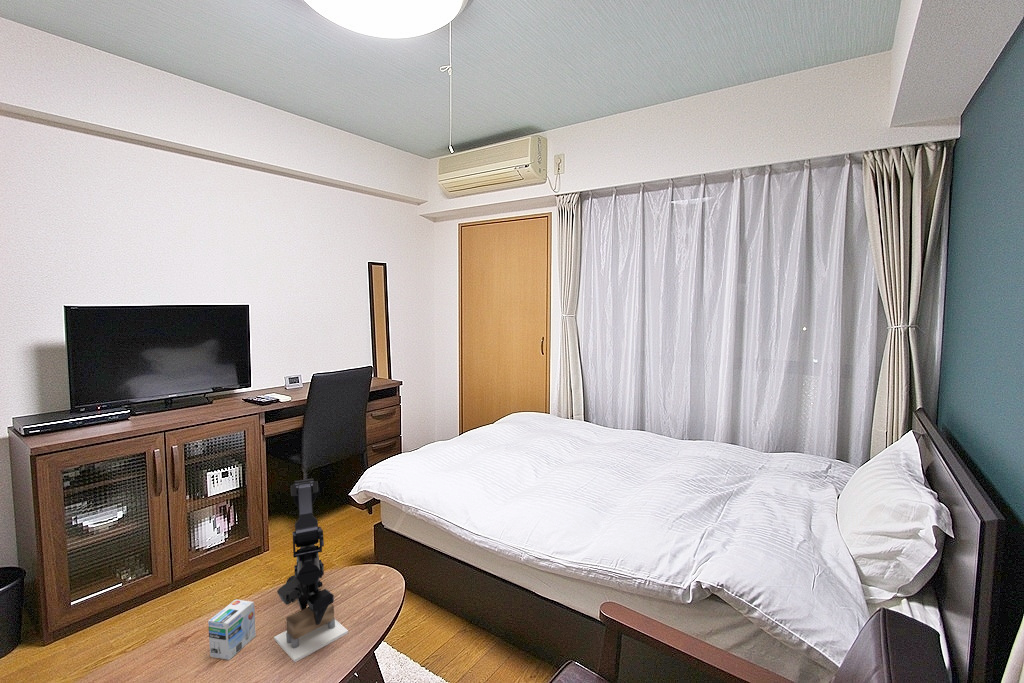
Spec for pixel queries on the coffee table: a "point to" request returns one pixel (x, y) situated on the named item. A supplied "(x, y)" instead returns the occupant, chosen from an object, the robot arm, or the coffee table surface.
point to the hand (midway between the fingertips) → (310, 617)
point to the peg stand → (310, 640)
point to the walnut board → (306, 621)
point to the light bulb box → (231, 629)
